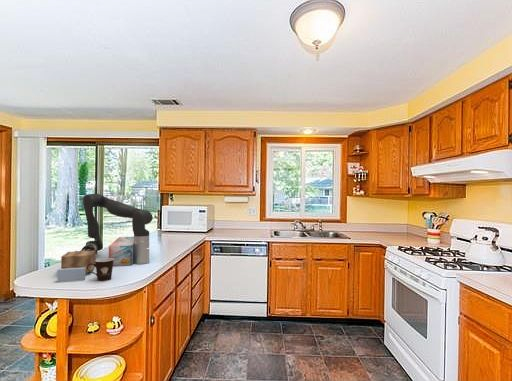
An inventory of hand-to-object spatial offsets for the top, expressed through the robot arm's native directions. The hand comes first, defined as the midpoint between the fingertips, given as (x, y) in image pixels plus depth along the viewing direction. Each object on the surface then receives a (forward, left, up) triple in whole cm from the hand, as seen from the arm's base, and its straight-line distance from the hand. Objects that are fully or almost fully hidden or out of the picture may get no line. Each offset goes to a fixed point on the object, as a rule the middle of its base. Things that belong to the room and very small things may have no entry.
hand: (83, 255), depth 185 cm
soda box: (-21, -20, -8) cm, 30 cm away
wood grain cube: (0, +10, -6) cm, 11 cm away
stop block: (0, +26, -7) cm, 27 cm away
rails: (0, +13, -7) cm, 15 cm away
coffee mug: (-14, +28, -8) cm, 32 cm away
